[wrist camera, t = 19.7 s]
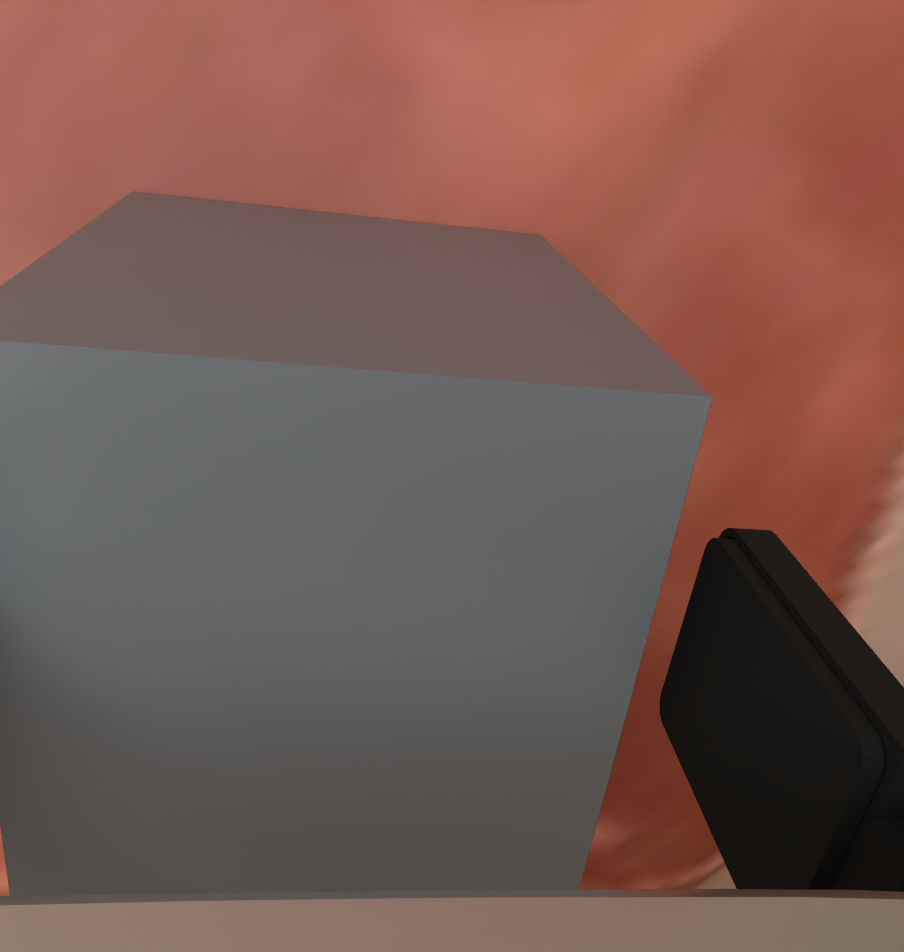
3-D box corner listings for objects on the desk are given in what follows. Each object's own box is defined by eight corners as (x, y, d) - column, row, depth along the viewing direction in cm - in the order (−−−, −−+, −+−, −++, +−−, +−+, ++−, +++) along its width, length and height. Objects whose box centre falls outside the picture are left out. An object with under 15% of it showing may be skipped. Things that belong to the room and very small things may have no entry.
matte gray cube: (132, 191, 16) (-69, 335, 8) (540, 235, 17) (712, 397, 9) (144, 552, 19) (10, 903, 11) (485, 567, 20) (577, 893, 13)
